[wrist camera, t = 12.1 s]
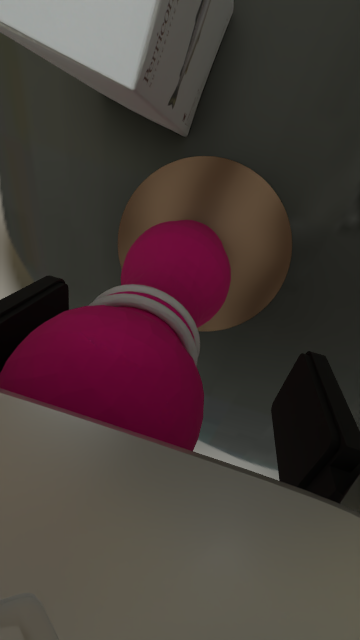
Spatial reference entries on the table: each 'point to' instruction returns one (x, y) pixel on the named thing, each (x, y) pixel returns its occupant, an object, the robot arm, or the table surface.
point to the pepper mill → (134, 339)
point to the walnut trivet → (220, 226)
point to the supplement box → (128, 48)
